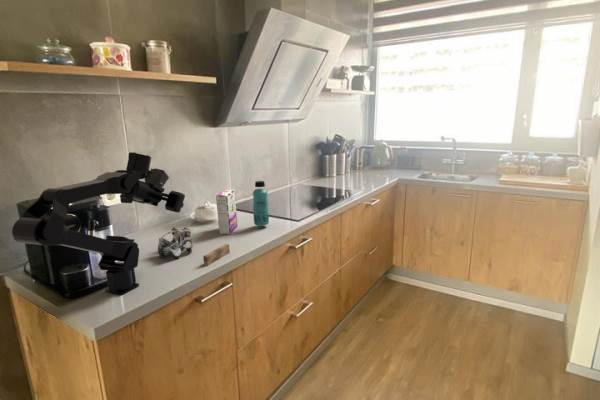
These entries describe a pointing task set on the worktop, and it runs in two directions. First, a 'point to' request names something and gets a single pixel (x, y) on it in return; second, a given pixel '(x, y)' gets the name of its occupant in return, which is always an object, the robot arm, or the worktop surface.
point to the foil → (182, 247)
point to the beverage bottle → (260, 205)
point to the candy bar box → (226, 211)
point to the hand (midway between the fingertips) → (171, 202)
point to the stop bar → (216, 254)
